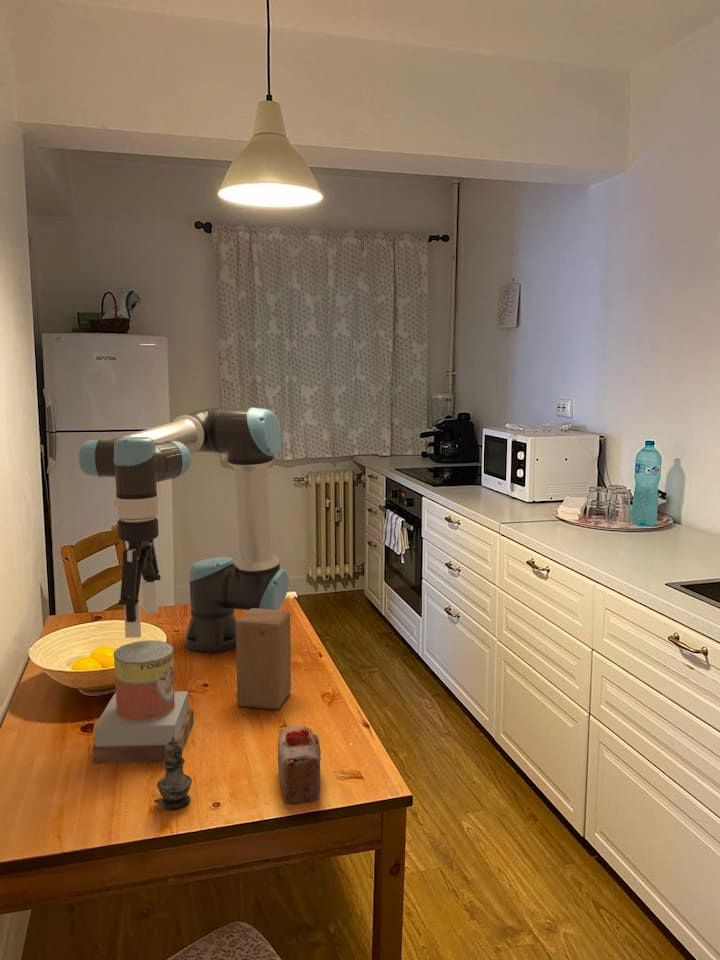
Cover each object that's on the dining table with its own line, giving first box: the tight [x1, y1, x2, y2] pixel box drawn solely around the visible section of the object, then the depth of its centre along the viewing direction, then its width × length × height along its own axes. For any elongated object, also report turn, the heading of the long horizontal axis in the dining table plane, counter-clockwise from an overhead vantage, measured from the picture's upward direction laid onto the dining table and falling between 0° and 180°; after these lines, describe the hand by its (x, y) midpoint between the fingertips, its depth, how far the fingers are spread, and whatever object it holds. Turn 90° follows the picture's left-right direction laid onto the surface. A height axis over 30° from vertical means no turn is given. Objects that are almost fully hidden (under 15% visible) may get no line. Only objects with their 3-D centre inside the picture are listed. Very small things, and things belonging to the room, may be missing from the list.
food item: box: [276, 725, 322, 805], centre depth 135 cm, size 14×8×10 cm, turn 12°
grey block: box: [93, 690, 189, 747], centre depth 149 cm, size 15×15×4 cm
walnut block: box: [92, 707, 195, 764], centre depth 150 cm, size 16×16×4 cm
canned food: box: [113, 639, 175, 722], centre depth 147 cm, size 11×11×12 cm
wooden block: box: [235, 608, 292, 710], centre depth 168 cm, size 10×10×20 cm
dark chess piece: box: [156, 737, 193, 812], centre depth 128 cm, size 6×6×12 cm
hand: (142, 624), depth 146 cm, fingers open, 13 cm apart
